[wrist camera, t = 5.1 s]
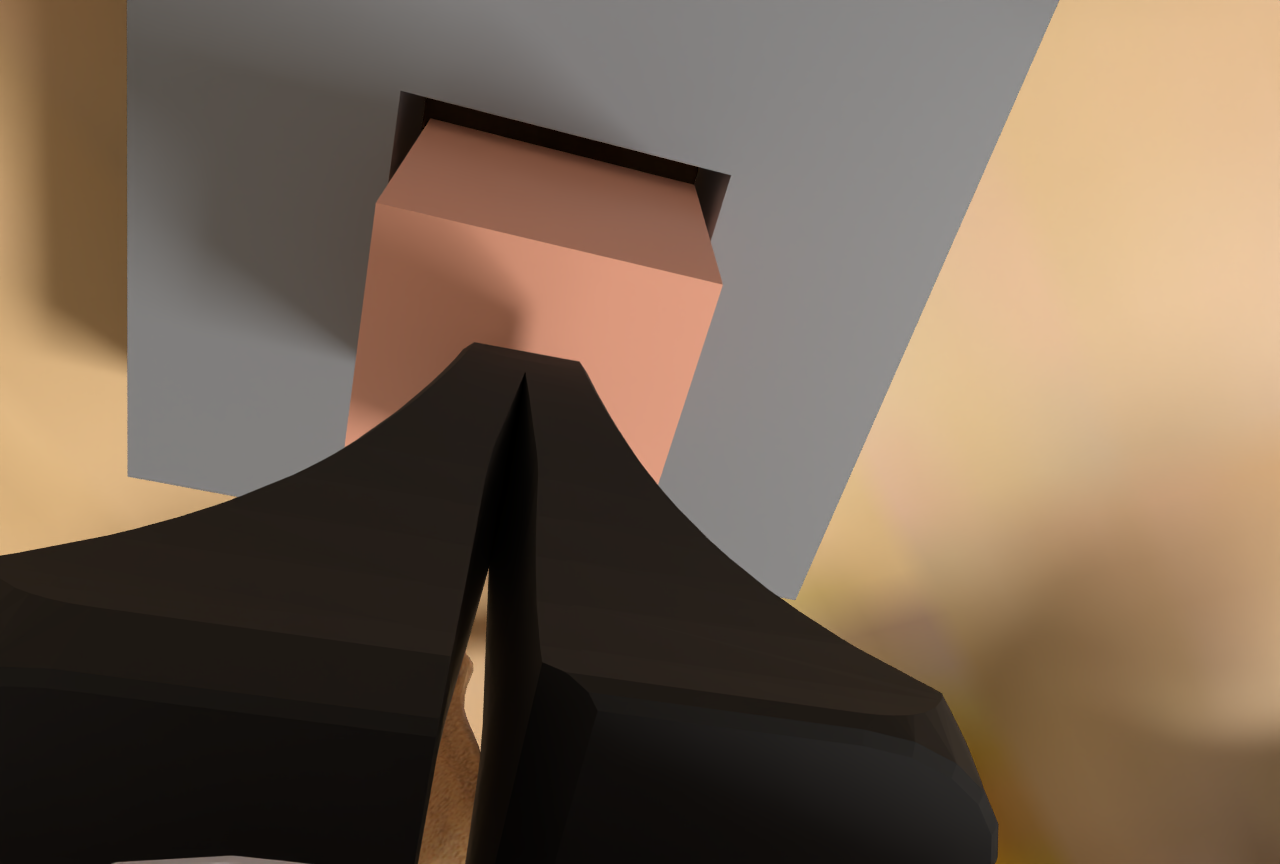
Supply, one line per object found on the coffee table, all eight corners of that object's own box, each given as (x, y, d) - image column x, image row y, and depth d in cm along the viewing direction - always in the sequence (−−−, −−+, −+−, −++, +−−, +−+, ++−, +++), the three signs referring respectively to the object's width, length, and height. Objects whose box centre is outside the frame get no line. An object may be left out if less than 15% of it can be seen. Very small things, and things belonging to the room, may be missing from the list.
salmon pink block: (694, 184, 15) (723, 285, 11) (628, 408, 17) (636, 552, 13) (430, 118, 14) (376, 202, 11) (394, 358, 16) (338, 495, 13)
